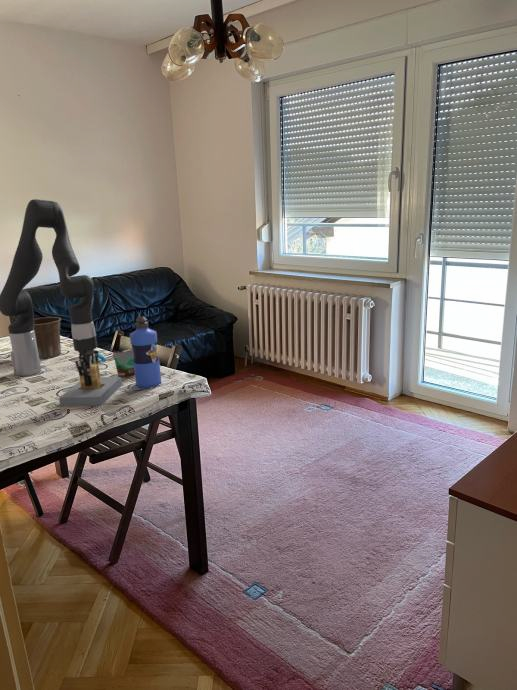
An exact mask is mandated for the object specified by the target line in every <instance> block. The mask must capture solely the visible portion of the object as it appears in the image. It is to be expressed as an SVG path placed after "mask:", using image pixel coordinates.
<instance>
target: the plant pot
mask: <svg viewBox="0 0 517 690" xmlns="http://www.w3.org/2000/svg"><path fill="white" fill-rule="evenodd" d="M61 321H62V318H61V317H57V316H49V317H47V316H45V317H39V318H37V317H36V318H34V331H35V336H36V342H37V348H38V354H39V360H40V359H51V358H55V357H58V356H59V355H61V353H62V349H61V346H62V345H61Z"/></svg>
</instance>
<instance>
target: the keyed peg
mask: <svg viewBox="0 0 517 690" xmlns="http://www.w3.org/2000/svg"><path fill="white" fill-rule="evenodd" d="M88 366H89V365H86V367H88ZM87 372H88V371H87ZM90 375H91V381H92V385H91V386H85V382H84V376H80V375H79V374H78V377H79V381H80V383H81V389H101V388H102V385H101V378H100V377H101V373H100V365H99V363H98V364H91V369H90Z"/></svg>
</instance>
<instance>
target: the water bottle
mask: <svg viewBox="0 0 517 690" xmlns="http://www.w3.org/2000/svg"><path fill="white" fill-rule="evenodd" d="M147 320H148V318H146V317H145V316H143V315H139V316H138V317H136V319H135V321H136V323H135V328H136V329H135V330H134V331H133V332H130V334H129V342H130V345H131V348H132V349H133V354H134V362H133V363H134V372H135V376H134V378H135V379H134V380H135V386H137V387H136V388H138V389H143V388H146V389H152V388H151V387H153V388H156V387H155V386H157V385H159V384H161V385H162V383H161V382H162V374H161V365H160V358H159V354H158V333H157V331H156V330H153V329H151V328H149V322H148V321H147ZM159 386H160V385H159ZM157 387H158V386H157Z"/></svg>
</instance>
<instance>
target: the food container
mask: <svg viewBox="0 0 517 690" xmlns="http://www.w3.org/2000/svg"><path fill="white" fill-rule="evenodd" d="M112 359H114V363H115V367H116V368H115V369H116V373H117V377H121V378H129V377H130V376H131V377H135V376H134V375H135V372H134V363H133V362H134V354H133V349H132V347H131V348H127V349H124V350H122V351H120V352H114V351H113V352H112ZM131 377H130V378H131Z"/></svg>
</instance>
